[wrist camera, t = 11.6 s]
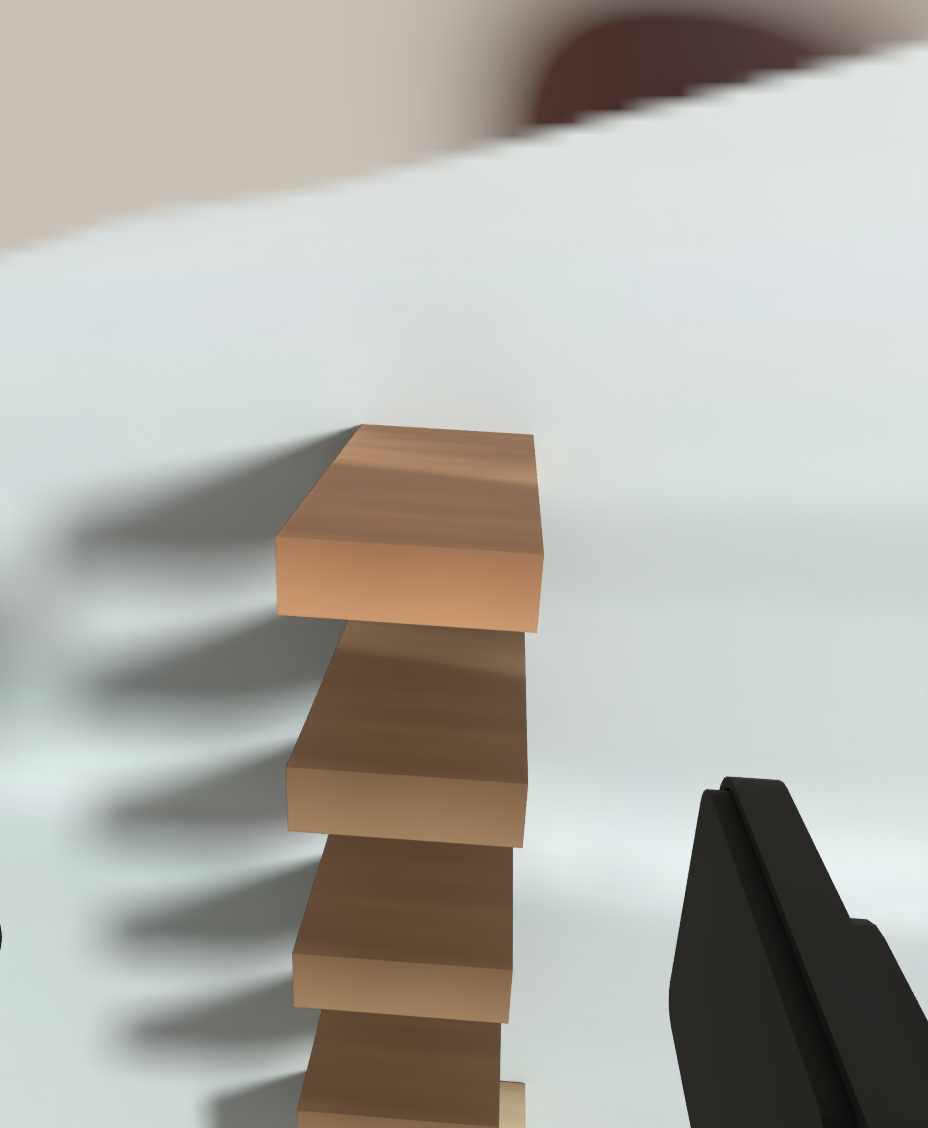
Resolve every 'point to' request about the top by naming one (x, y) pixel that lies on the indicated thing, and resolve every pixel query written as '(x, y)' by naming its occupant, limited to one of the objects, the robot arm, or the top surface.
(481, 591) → the domino
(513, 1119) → the end block
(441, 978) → the domino
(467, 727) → the domino
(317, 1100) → the domino
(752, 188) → the top surface
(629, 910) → the top surface
